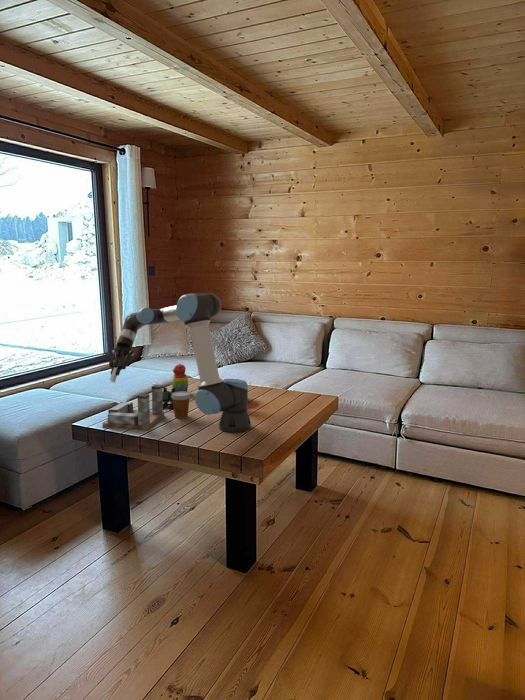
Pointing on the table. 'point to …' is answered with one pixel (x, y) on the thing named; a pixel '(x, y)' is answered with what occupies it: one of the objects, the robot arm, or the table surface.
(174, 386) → the stacking bear
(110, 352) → the robot arm
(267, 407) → the table surface
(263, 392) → the table surface
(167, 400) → the binoculars
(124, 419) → the grey block structure
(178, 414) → the disposable coffee cup
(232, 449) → the table surface
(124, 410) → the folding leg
